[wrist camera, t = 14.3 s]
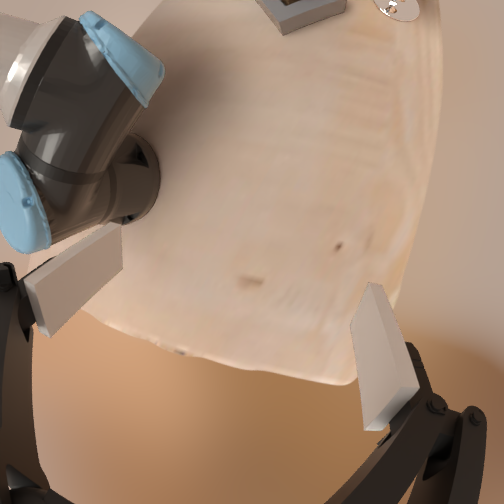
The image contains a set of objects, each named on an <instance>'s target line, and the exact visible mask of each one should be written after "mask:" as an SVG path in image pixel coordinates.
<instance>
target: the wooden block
mask: <svg viewBox="0 0 504 504" xmlns="http://www.w3.org/2000/svg"><path fill="white" fill-rule="evenodd" d="M281 1H282V2H283V3H284V4H285V5H286V6H287V5H290V4H292V3H295V2H298V1H300V0H281Z"/></svg>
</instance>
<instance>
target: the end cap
mask: <svg viewBox="0 0 504 504" xmlns="http://www.w3.org/2000/svg"><path fill="white" fill-rule="evenodd" d="M256 2H257V3H258V4H259V5H260V6H261V8H262V9H263V10H264V11H265V13H266V14H267V15H268V17H269V18H270V19H271V20H272V22H273V23H274V24H275V26H276V27H277V28H278V30H279V31H280V32H281V34H282V35H285V34H287V33H290V32H292V31H294V30H297V29H299V28H302V27H304V26H307V25H309V24H312V23H314V22H317V21H320V20H323V19H325V18H328V17H331V16H334V15H337V14H340V13H343V12H344V10H345V5H346V0H300V1H298V2H295V3H292V4H290V5H287V6H286V5H285V4H284V3H283V2H282V1H281V0H256Z"/></svg>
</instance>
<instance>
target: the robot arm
mask: <svg viewBox="0 0 504 504" xmlns="http://www.w3.org/2000/svg"><path fill="white" fill-rule="evenodd" d="M79 20H80V21H76V20H74V19H71V18H68V17H66V16H61V17H59V18H56V19H54V20H51V21H49V22H47V23H43V24H38V23H35V22H32V21H29V20H25V19H22V18H19V17H15V16H12V15H8V14H4V13H0V110H1V111H2V113H3V116H4V119H5V122H6V124H7V126H8V127H11V128H15V129H19V130H22V134H21V137H20V139H19V142H18V145H17V148H16V150H15V151H14V152H12V151H7V152H5V154H2V155H1V156H0V230H1V232H2V234H3V236H4V237H5V239H6V241H7V242H8V243H9V244H10V246H11V247H13V249H15V250H16V251H18V252H20V253H23V254H24V253H25V254H31V253H34V252H37V251H40V250H43V249H48V248H49V247H50V246H51V245H53V244H55V243H57V242H60V241H62V240H64V239H66V238H68V237H70V236H73V235H75V234H77V233H79V232H82V231H84V230H86V229H88V228H91V227H93V226H95V225H98V224H102V225H105V226H103V227H101V228H100V229H98V230H96V231H95V232H93V233H91V234H90V235H88V236H87V237H85V238H83V239H82V240H80V241H79V242H77V243H76V244H74V245H72V246H71V247H69V248H68V249H66V250H65V251H63V252H62V253H60V254H59V255H57V256H55V257H52V258H50V259H48V260H47V261H45V262H44V263H43V264H42V265H40V266H38V267H37V269H36V268H35V269H34V270H33V271H31V272H30V273H28V274H27V275H26V276H24V277H23V278H21V279H20V280H19V281H18V280H17V276H16V272H15V268H14V265H13V264H12V263H10V262H3V263H0V504H74V503H72V502H71V501H69V500H67V499H66V498H64V497H63V496H61V495H59V494H58V493H56V492H55V491H53V490H52V489H50V486H49V482H48V480H47V478H46V475H45V474H44V472H43V470H42V468H41V467H40V463H39V458H38V453H37V445H36V438H35V430H34V419H33V408H32V407H33V405H32V346H33V328H32V325H33V324H34V323H35V322H36V323H37V326H38V329H39V331H40V332H41V333H42V334H44V335H46V336H48V337H49V338H51V337H52V336H53V335H54V334H55V333H56V332H57V331H58V330H59V329H60V328H61V327H62V326H63V325H64V324H65V323H66V322H67V321H68V320H69V319H70V318H71V317H72V316H73V315H74V314H75V313H76V312H77V311H78V310H79V309H80V308H81V307H82V306H83V305H84V304H85V303H86V302H87V301H88V300H89V299H91V298H92V297H93V296H94V295H95V294H96V293H97V292H98V291H99V290H100V289H101V288H102V287H103V286H104V285H105V284H107V283H108V282H109V281H110V280H111V279H112V278H113V277H114V276H115V275H116V274H118V273H119V272H120V271H121V270H122V269H123V263H122V237H121V225H126V224H130V223H132V222H134V221H136V220H138V219H140V218H142V217H143V216H144V215H145V214H147V212H148V211H149V210H150V209H151V207H152V206H153V204H154V202H155V200H156V197H157V194H158V190H159V184H160V171H159V165H158V161H157V158H156V156H155V154H154V152H153V150H152V148H151V147H150V145H149V144H148V143H147V142H146V141H145V140H144V139H143V138H141V137H140V136H138V135H136V134H133V133H129V131H130V130H131V128H132V127H133V125H134V124H135V122H136V121H137V119H138V118H139V116H140V115H141V113H142V112H143V110H144V109H145V108H147V107H148V105H149V101H150V99H151V98H152V96H153V94H154V93H155V91H156V90H157V88H158V87H159V85H160V84H161V82H162V81H163V79H164V76H165V68H164V65H163V63H162V62H161V61H160V60H159V59H158V58H157V57H156V56H154V55H153V54H152V53H151V52H149V51H148V50H147V49H145V48H144V47H143V46H141V45H140V44H139V43H137V42H136V41H135V40H133V39H132V38H131V37H129V36H128V35H127V34H125V33H124V32H122V31H121V30H120V29H118V28H117V27H115V26H114V25H112V24H111V23H109V22H108V21H106V20H105V19H103V18H102V17H101V16H99V15H98V14H96V13H94V12H93V11H87V12H86V13H85V14H83V15H81V16H80V18H79ZM350 328H351V334H352V340H353V346H354V352H355V358H356V365H357V372H358V379H359V386H360V394H361V403H362V412H363V422H364V430H371V431H382V430H383V429H384V428H385V426H387V425H388V423H389V424H390V432H389V433H388V434H387V435H386V436H385V437H384V438H383V439H382V440H381V441H379V442H378V443H377V444H378V446H377V448H376V449H375V450H374V452H372V454H371V455H370V456H369V457H368V458H367V460H366V461H365V462H364V463H363V464H362V466H360V468H359V469H358V470H357V471H356V472H355V473H354V474H353V475H352V476H351V478H350V479H349V480H348V481H347V482H346V483H345V484H344V485H343V486H342V487H341V488H340V489H339V490H338V491H337V492H336V493H335V494H334V495H333V496H332V497H331V498H330V499H329V500H328V501H326V503H324V504H398V502H399V501H400V499H401V498H402V497H403V495H404V493H405V492H406V491H407V489H408V488H409V486H410V485H411V483H412V482H413V480H414V478H415V477H416V475H417V477H416V480H415V483H414V486H413V489H412V492H411V495H410V497H409V500H408V502H407V504H478V499H479V494H480V489H481V483H482V476H483V468H484V460H485V449H486V431H487V421H486V417H485V415H484V413H483V412H482V411H481V410H480V409H479V408H478V407H476V406H468V407H467V408H466V409H465V410H464V411H463V412H462V413H459V412H456V411H453V410H450V409H448V405H447V403H446V402H445V400H444V399H443V398H442V397H441V396H439V395H437V394H435V393H433V391H432V388H431V385H430V382H429V379H428V377H427V374H426V371H425V369H424V366H423V363H422V362H421V357H420V355H419V352H418V350H417V349H416V348H415V347H414V345H413V344H412V343H409V342H405V341H404V339H403V336H402V333H401V331H400V328H399V325H398V323H397V320H396V318H395V315H394V313H393V310H392V308H391V305H390V303H389V300H388V298H387V296H386V293H385V291H384V289H383V286H382V285H379V284H375V283H370V282H368V285H367V287H366V290H365V292H364V294H363V297H362V299H361V301H360V304H359V306H358V308H357V310H356V313H355V315H354V317H353V319H352V322H351V324H350ZM8 486H10V488H11V490H9V487H8Z"/></svg>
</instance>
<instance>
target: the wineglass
mask: <svg viewBox="0 0 504 504" xmlns="http://www.w3.org/2000/svg"><path fill="white" fill-rule="evenodd" d="M373 1H374V3H375V5H376V6H377V7H378V8H379V9H380V10H381V11H382V12H383V13H384V14H386V15H387V16H389V17H391V18H393V19H396V20H399V21H407V22H408V21H413V20H415V19H416V18H417V17H418V16H419V13H420V8H419V5H418V3H417V1H416V0H373Z"/></svg>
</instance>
